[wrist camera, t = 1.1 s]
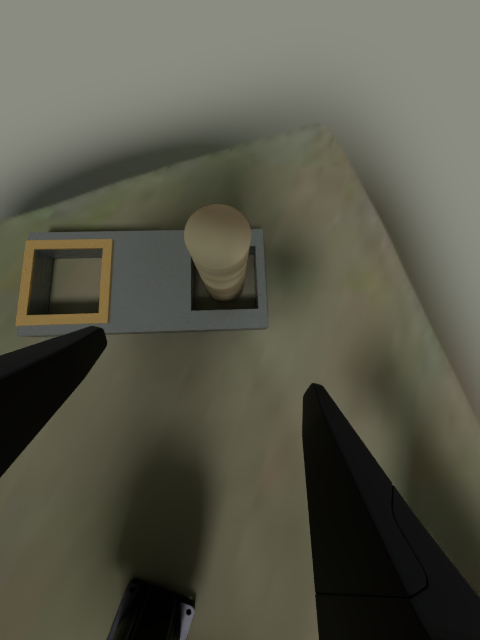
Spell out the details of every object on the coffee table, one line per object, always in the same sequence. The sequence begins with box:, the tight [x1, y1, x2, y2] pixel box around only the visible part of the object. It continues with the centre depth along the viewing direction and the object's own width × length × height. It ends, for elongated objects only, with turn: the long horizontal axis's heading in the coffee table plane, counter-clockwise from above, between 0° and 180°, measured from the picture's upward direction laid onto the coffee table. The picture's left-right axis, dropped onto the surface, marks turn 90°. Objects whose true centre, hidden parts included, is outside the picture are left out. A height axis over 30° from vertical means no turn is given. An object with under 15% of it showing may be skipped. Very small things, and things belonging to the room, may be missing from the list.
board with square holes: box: [16, 229, 268, 337], centre depth 21 cm, size 25×11×2 cm, turn 92°
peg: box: [184, 204, 251, 302], centre depth 18 cm, size 4×4×10 cm
